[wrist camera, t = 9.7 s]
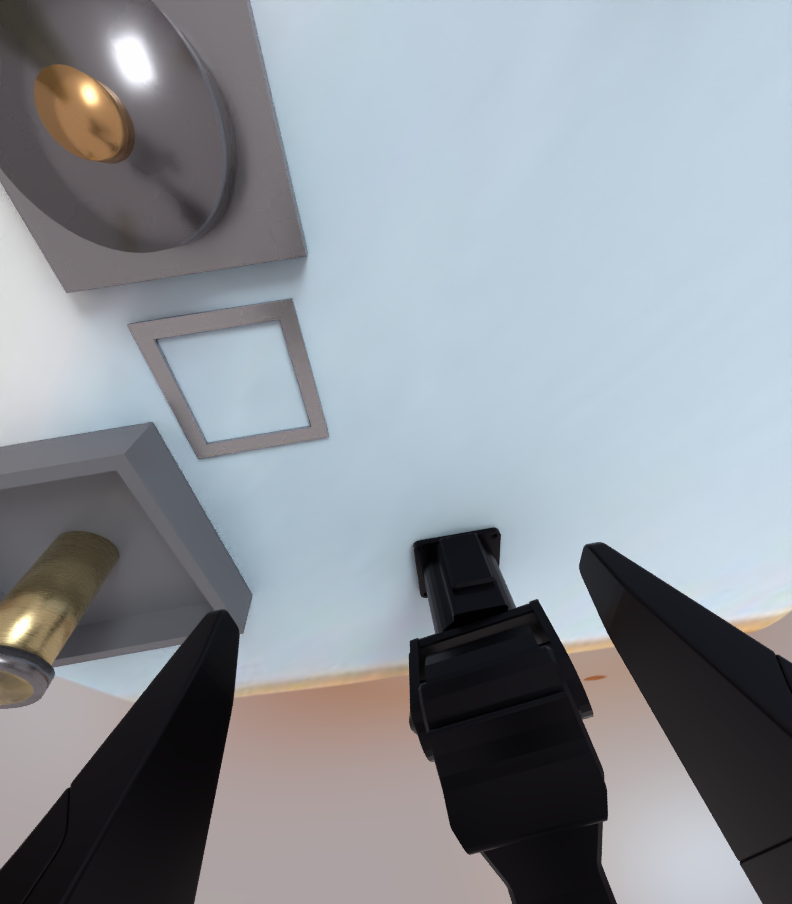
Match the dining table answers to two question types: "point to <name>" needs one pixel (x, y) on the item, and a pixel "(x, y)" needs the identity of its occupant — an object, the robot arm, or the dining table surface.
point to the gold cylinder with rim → (48, 612)
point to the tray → (119, 537)
